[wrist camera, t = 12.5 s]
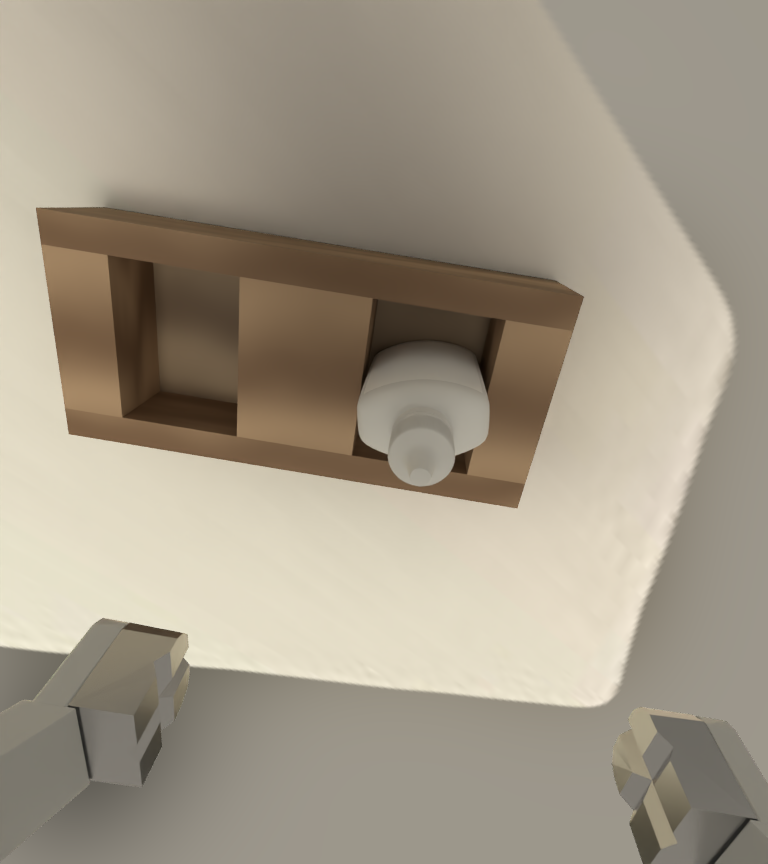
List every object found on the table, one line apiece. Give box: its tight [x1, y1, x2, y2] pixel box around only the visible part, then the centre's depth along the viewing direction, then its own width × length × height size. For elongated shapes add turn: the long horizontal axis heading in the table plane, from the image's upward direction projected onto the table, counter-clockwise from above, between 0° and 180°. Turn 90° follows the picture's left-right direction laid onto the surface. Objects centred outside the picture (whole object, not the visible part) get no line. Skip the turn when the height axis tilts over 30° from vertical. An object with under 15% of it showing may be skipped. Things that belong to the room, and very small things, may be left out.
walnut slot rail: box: [36, 207, 584, 508], centre depth 26 cm, size 11×24×5 cm, turn 82°
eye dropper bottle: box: [357, 340, 490, 487], centre depth 22 cm, size 4×6×12 cm
